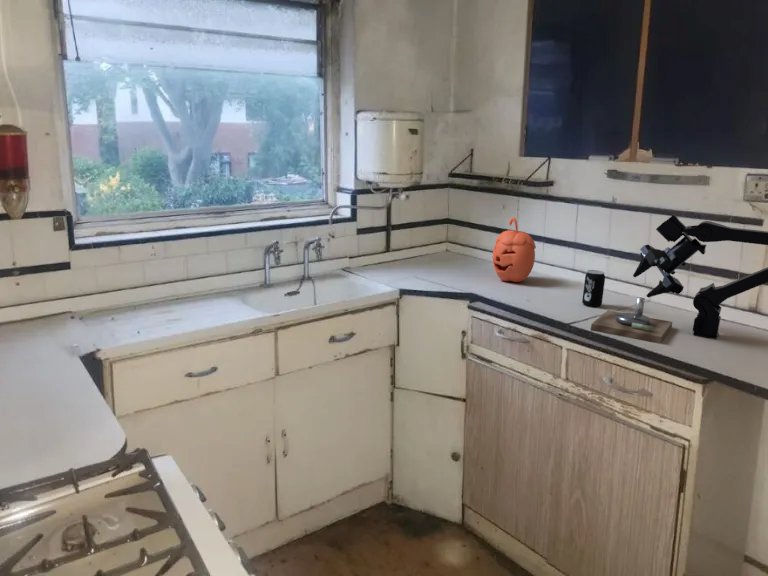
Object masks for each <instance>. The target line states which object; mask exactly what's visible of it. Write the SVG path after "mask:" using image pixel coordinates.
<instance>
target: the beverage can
mask: <svg viewBox="0 0 768 576" xmlns="http://www.w3.org/2000/svg"><path fill="white" fill-rule="evenodd" d="M605 282H606V276H605V272H604V271H602V270H596V269H590V270H589V269H588V270H587V271H586V273H585V276H584V285H583V291H582V292H583V293H582V305H583V306H585V307H588V308H600V307H601V306H602V305H603V299H604V298H603V297H604V291H605V284H606V283H605Z"/></svg>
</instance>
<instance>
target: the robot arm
mask: <svg viewBox="0 0 768 576" xmlns="http://www.w3.org/2000/svg"><path fill="white" fill-rule="evenodd" d="M655 230H656V231H657V232H658V233H659V234H660V235H661V236H662V237H663V238H664V239H665V240H666V241H667V242H668V243H670V242H671V243H672V242H673V243H674V245H673V246H671V247H665V248H664V249H662V250H661V249H658V248H654V247H653V246H651V245H650V244H644V245H643V246H642V247H641V248H640V249H639V250H640V262H639V264H638V266H637V268H636V269H635V271H634V273H633V274H632V277H633V278H637V277H639V276H640V275H642V274H643V273H645V272H647V271H648V270H649V269H650V268H652V267H656V268H657V269H658V271H659V272H660V273H661V274H662V276H663V279H662V280H661V279H659V280H658V281H659V282H658V284H657V285H656V286H655V287H653V289H651V290H650V291H649V292H648V293H647V294H646V296H645V297H646V298H652V297H655V296H659V295H662V294H668V293H672V294H675V295H679V294H681V293H682V292H683V290H684V288H685V287H684V285H683V284H682V283H681V282H680V280H679V279H678V278H677V277H675V276H674V275H675V274H676V271H675V270H677V269H678V268H679V267H680V266H683V267H685V266H686V265H687V263H686V261H688V260H689V259H690V258H691V257H693V255H695V254H696V253H697V252H699V253H700V254H701V255H705V253H706V247H707V244H702V243H714V242H715V243H717V242H725V241H726V242H736V243H738V242H739V243H745V244H754V245H764V246H768V230H767V231H766V230H758V229H757V230H756V229H748V228H747V229H746V228H741V227H740V228H739V227H732V226H731V227H730V226H726V225H724V224H721V223H719V222H714V221H709V220H704V221H702V222H700V223H698V224H696V225H688V226H686V225H685V224H684V223H683V222H682V220H680V219H679V217H677V215H676V214H672V215H671V216H670V217H668V219H666V220H665V221H662V222H661V224H660V225H658V227H656V229H655ZM681 237H682V238H681ZM692 237H693V238H692ZM680 238H681V239H680ZM679 239H680V240H679ZM678 240H679V241H678ZM677 241H678V242H677ZM701 242H702V243H701ZM767 283H768V266H767V267H764V268H762V269H760V270H757V271H755V272H753V273H750V274H748V275H746V276H743V277H740V278H739V279H736V280H734V281H731V282H728V283H726V284H724V285H719V286H716V284H715V283H714V282H713V283H710V284H709V285H707V286H704V287H700V289H699V290H698V291H697V292H696V294H695V296H694V298H693V299H692V305H693V307H694V308H695V310H697V312H698V313H697V315H696V317H694V319H693V320H694V321H693V326H692V333H693V336H696V337H697V336H698V337H702V338H709V339H713V340H714V339H715V340H716V339H717V338H718V337H719V330H720V329H719V328H720V323H721V319H722V318H721V317H722V316H721V315H720V314H721V312H722V311H721V310H722V307H721V304H722V303H723V302H725V301H726V300H727V299H730V298H732V297H735V296H737V295H740V294H742V293H745V292H746V291H750V290H752V289H755V288H756V287H759V286H761V285H764V284H767Z"/></svg>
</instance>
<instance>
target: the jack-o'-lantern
mask: <svg viewBox="0 0 768 576" xmlns="http://www.w3.org/2000/svg"><path fill="white" fill-rule="evenodd" d="M512 223H514V227H515V228H514V229H515V230H511V229H508V230H504V231H502V232H500V234H499V235H498V236H497V237H496V239H495V244H494V246H493V247H494V248H493V251H492V256H491V257H492V264H493V268H494V271H495V273H496V275H497V277H498V278H499V279H500V280H502V281H504V282H514V283H519V282H522V281H524V280H526V278H527V277H529V275H530V274H531V272H532V271H533V269H534V268H533V267H534V264H535V261H536V260H535V259H536V251H535V249H537V248H536V247H537V246H536V243H535V240H534V239H533V238H532V236H531V235H529V234H528V233H526V231H522V230H521V231H520V230H519V229H518V228H519V227H518V221H517V219H516V217H514V216H512V218H510V220H509V222H508V224H509V226H512V225H513V224H512ZM518 230H519V231H518Z"/></svg>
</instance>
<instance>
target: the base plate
mask: <svg viewBox="0 0 768 576" xmlns="http://www.w3.org/2000/svg"><path fill="white" fill-rule="evenodd" d="M618 313H621V312H619V311H613V310H606V311H605V312H603V314H602V315H600V316H599V317H598V318H596V320H594V321H593V322H592V323H591V326H590V331H593V332H594V331H595V332H597V333H599V332H600V333H603V334H610V335H615V336H620V337H625V338H630V339H635V340H640V341H645V342H650V343H656V344H661V343H662V341H663V340H664V339H665V338H666V336H667V335H668V333H669V332H670V331H671V329H672V328H673V321H670V320H664V319H658V318H654V317H653V318H652V317H649V318H650V319H651V322H650V325H649V326H648V325H643V324H637V323H632V326H629V325H625V324H622V323H619V322H617V321H616V315H617V314H618Z"/></svg>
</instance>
